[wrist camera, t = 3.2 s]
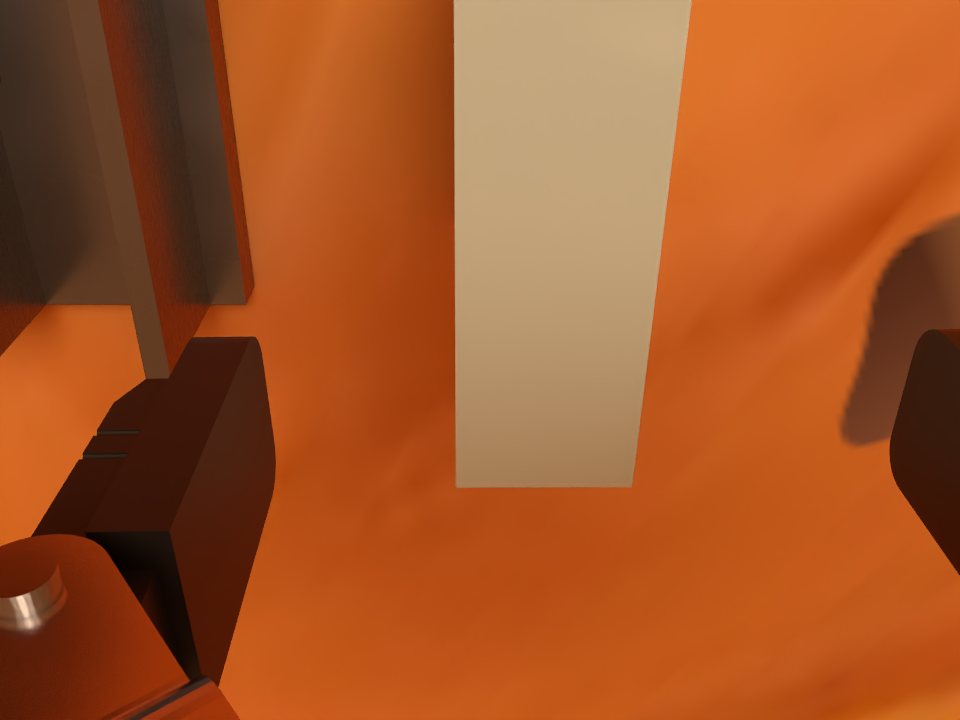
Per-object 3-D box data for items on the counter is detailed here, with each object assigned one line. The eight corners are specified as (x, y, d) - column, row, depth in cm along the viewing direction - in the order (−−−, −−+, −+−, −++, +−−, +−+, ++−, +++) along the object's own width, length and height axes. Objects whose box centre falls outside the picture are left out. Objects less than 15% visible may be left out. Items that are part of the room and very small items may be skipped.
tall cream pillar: (457, -91, 21) (453, -22, 11) (582, -90, 22) (693, -20, 11) (457, 222, 26) (455, 487, 15) (563, 223, 26) (632, 487, 15)
